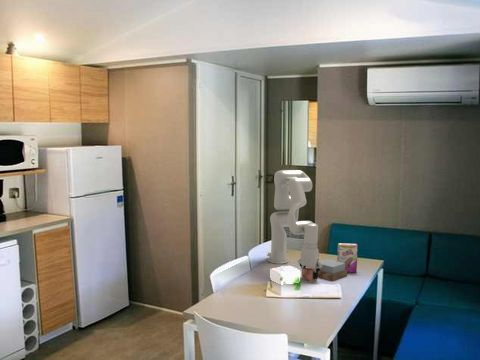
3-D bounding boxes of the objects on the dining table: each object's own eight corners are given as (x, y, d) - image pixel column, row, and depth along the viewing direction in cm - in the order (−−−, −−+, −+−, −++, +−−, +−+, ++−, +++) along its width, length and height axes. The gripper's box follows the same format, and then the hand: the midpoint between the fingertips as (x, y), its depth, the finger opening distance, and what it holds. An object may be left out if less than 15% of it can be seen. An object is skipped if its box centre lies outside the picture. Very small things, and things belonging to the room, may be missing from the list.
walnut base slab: (312, 276, 267) (312, 269, 267) (326, 271, 277) (326, 265, 277) (333, 282, 258) (333, 274, 257) (346, 277, 268) (347, 270, 267)
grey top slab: (315, 269, 267) (315, 262, 267) (327, 265, 276) (327, 259, 275) (332, 274, 259) (333, 267, 258) (344, 270, 267) (345, 263, 267)
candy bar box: (337, 272, 275) (338, 244, 273) (336, 269, 280) (337, 242, 278) (357, 273, 274) (358, 245, 272) (355, 270, 279) (356, 243, 277)
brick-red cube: (301, 279, 260) (302, 268, 259) (308, 277, 264) (308, 266, 264) (310, 281, 256) (311, 271, 255) (317, 279, 260) (317, 269, 260)
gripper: (293, 244, 262) (293, 275, 263) (319, 249, 250) (318, 282, 251) (301, 242, 267) (301, 272, 269) (327, 247, 255) (326, 279, 257)
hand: (309, 277), depth 260 cm, fingers open, 6 cm apart
